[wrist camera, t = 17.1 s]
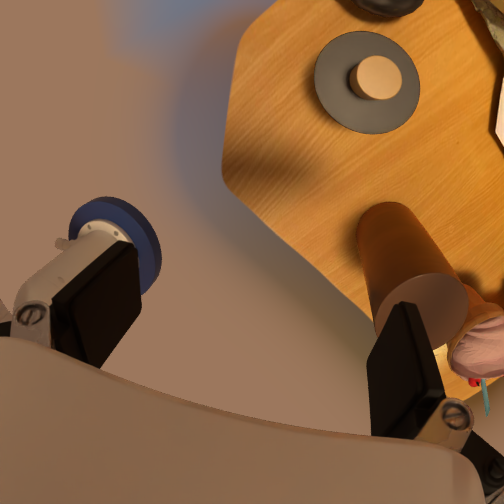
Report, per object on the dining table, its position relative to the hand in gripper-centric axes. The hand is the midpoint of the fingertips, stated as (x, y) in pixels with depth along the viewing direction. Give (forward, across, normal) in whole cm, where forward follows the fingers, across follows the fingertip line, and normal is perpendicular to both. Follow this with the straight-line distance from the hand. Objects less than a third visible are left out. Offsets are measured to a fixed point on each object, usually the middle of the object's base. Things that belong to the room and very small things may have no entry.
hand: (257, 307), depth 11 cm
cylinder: (+30, -14, +8) cm, 34 cm away
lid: (+21, -5, -10) cm, 24 cm away
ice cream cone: (+30, -29, +14) cm, 44 cm away
